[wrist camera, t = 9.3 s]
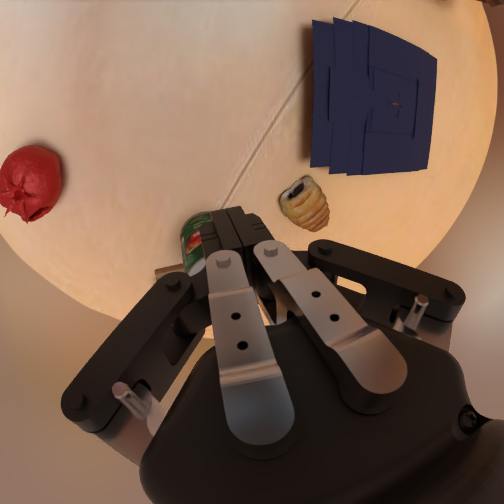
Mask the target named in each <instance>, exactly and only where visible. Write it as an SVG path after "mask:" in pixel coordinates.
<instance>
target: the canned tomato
mask: <svg viewBox="0 0 504 504" xmlns="http://www.w3.org/2000/svg"><path fill="white" fill-rule="evenodd" d="M206 222H211V216H210V212H202V213H199V214H196V215H194V216H192V217H191V218H190V219H188V220H187V222H186V223H185V224H184V226H183V228H182V230H181V235H180V240H181V248H182V256H183V265H184V273H187V274H188V275H189V276H192V275H195V274H196V273H198V272H200V271H201V270H202V269H203V268H204V266H205V264H206V261H205V257H204V253H203V248H202V243H201V238H200V233H199V228H200V226H201V224H202V223H206Z"/></svg>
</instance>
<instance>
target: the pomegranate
mask: <svg viewBox="0 0 504 504" xmlns="http://www.w3.org/2000/svg"><path fill="white" fill-rule="evenodd" d="M61 188H62V181H61V174H60V162H59V160H58V157H57V156H56V155H55V154H54V153H53V152H51V151H49V150H46V149H44V148H42V147H39V146H25V147H22V148H20V149H18V150H16V151H14V152H12V153H11V154H10V155H8V157H7V158H6V159H5V161H4V163H3V165H2V167H1V169H0V204H1V205H2V206H3V207H5V208H7V211H6V214H7V213H8V212H9V211H11V212H13V213H16V214H18V215H20V216H21V218H22V220H23V221H26V223H27V224H28V222H32V221H35V220H37V219H39V218H41V217H43V216H44V215H45V214H47V213H49V212H50V211H51V209H52V208H53V207H54V206H55V204H56V202H57V200H58V198H59V196H60V193H61ZM6 214H5V216H6ZM5 216H4V217H5Z"/></svg>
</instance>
